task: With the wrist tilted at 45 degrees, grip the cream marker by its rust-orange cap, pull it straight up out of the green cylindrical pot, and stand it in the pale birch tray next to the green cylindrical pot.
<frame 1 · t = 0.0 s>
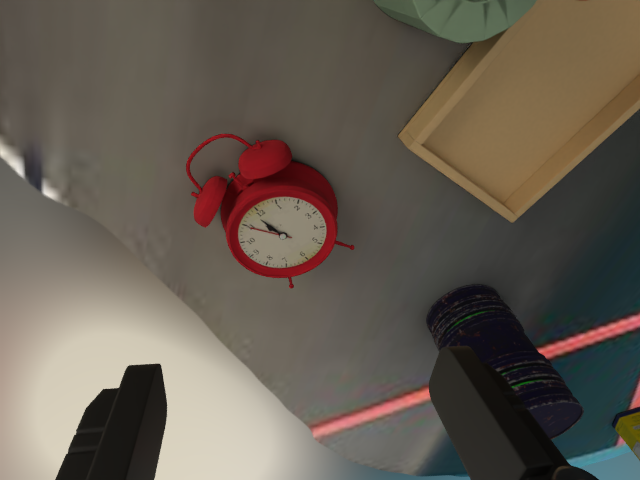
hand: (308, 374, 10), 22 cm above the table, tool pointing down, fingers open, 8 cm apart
supplement box: (626, 414, 79), on the table
alarm clock: (267, 198, 33), on the table
tray: (539, 83, 30), on the table
dark blue cylinder: (461, 310, 47), on the table
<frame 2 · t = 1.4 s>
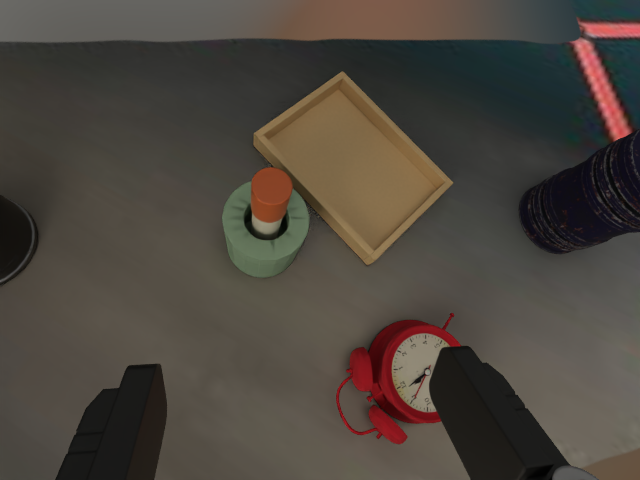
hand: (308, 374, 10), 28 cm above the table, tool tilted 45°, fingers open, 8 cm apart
alarm clock: (397, 376, 39), on the table
tray: (351, 169, 45), on the table
green cylindrical pot: (262, 243, 40), on the table
dark blue cylinder: (549, 219, 49), on the table
marker: (266, 220, 33), in the green cylindrical pot
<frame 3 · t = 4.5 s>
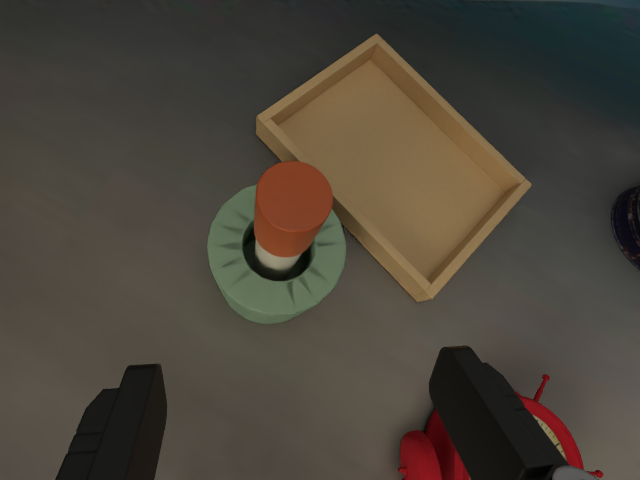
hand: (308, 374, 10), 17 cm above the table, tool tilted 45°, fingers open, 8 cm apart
alarm clock: (466, 466, 27), on the table
tray: (390, 166, 33), on the table
green cylindrical pot: (270, 273, 28), on the table
marker: (278, 247, 21), in the green cylindrical pot
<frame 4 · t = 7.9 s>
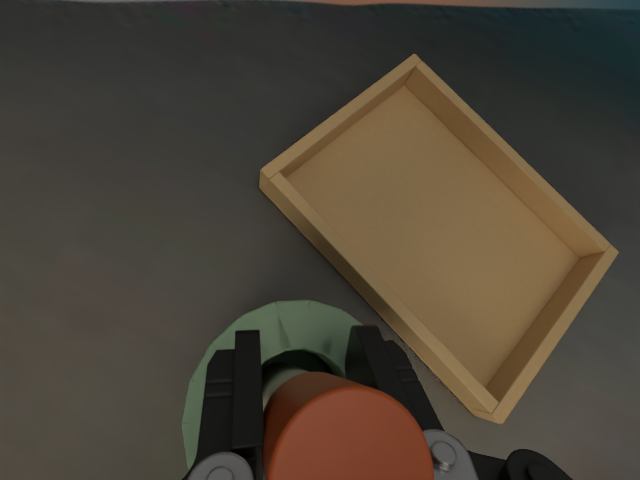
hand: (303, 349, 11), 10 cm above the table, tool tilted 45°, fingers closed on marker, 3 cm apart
tray: (432, 226, 25), on the table
green cylindrical pot: (278, 385, 21), on the table
marker: (296, 407, 13), in the green cylindrical pot, touching gripper
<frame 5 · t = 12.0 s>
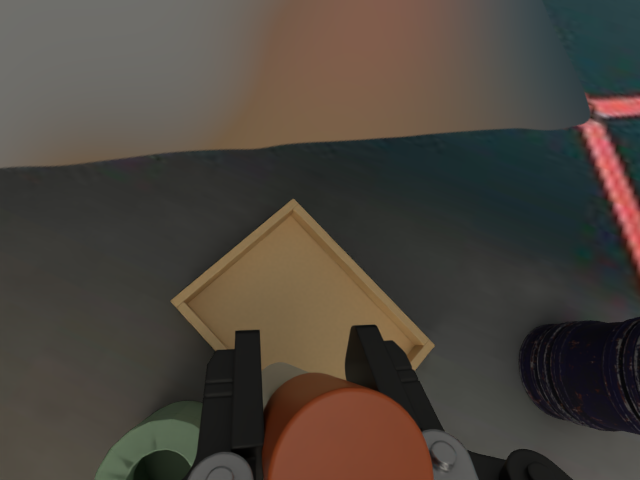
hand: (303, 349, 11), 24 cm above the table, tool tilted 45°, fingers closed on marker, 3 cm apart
tray: (305, 325, 35), on the table
green cylindrical pot: (182, 449, 30), on the table
dark blue cylinder: (557, 370, 39), on the table
marker: (296, 408, 13), point 22 cm above the table, touching gripper
when the fingers open (11 cm above the table, at t = 16.6 s): marker stays where it is, resting on tray.
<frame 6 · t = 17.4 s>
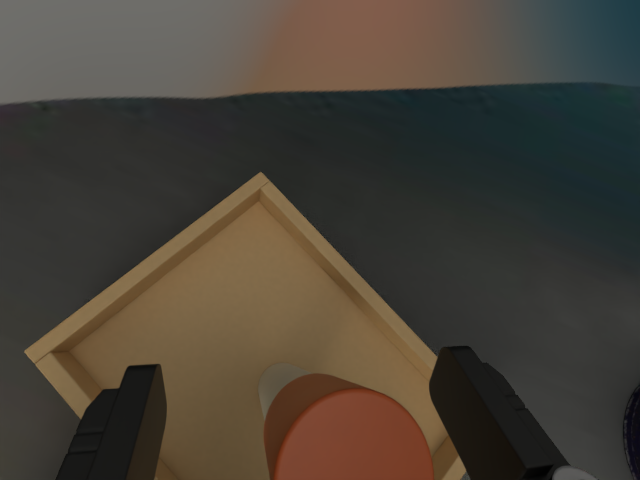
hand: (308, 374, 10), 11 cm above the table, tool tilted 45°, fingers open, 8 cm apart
tray: (278, 384, 21), on the table
marker: (299, 408, 13), in the tray, point 8 cm above the table
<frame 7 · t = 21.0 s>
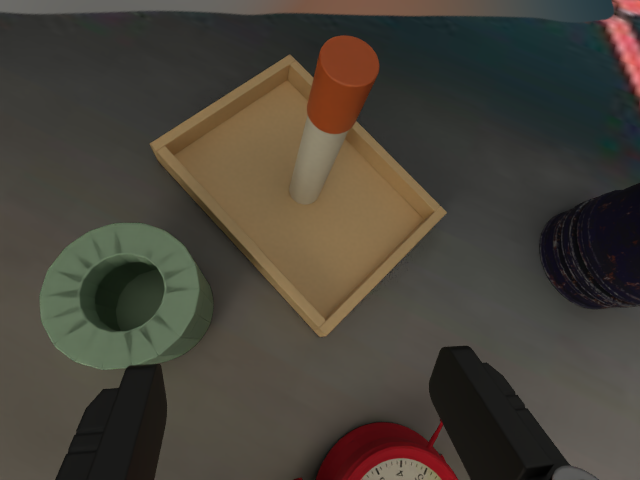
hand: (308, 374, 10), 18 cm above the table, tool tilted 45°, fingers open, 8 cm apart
tray: (301, 192, 32), on the table
green cylindrical pot: (160, 308, 27), on the table
dark blue cylinder: (582, 259, 35), on the table
marker: (320, 144, 24), in the tray, point 8 cm above the table
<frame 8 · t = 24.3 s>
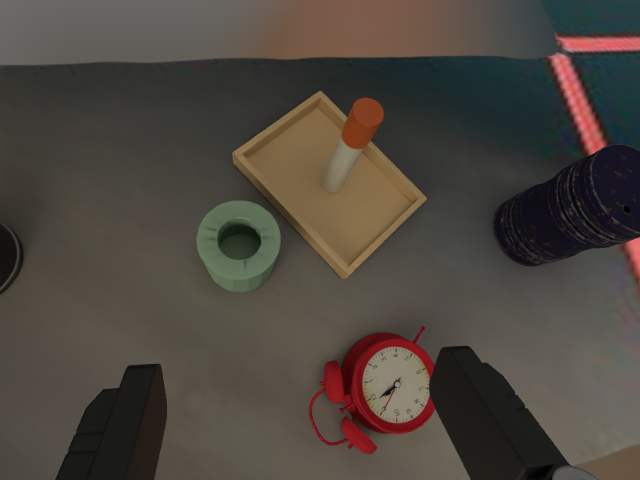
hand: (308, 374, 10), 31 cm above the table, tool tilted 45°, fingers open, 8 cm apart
alarm clock: (371, 387, 41), on the table
tray: (329, 185, 46), on the table
green cylindrical pot: (241, 259, 42), on the table
dark blue cylinder: (523, 232, 50), on the table
marker: (346, 154, 39), in the tray, point 8 cm above the table
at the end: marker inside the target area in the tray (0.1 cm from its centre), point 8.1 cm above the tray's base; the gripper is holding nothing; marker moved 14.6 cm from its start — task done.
